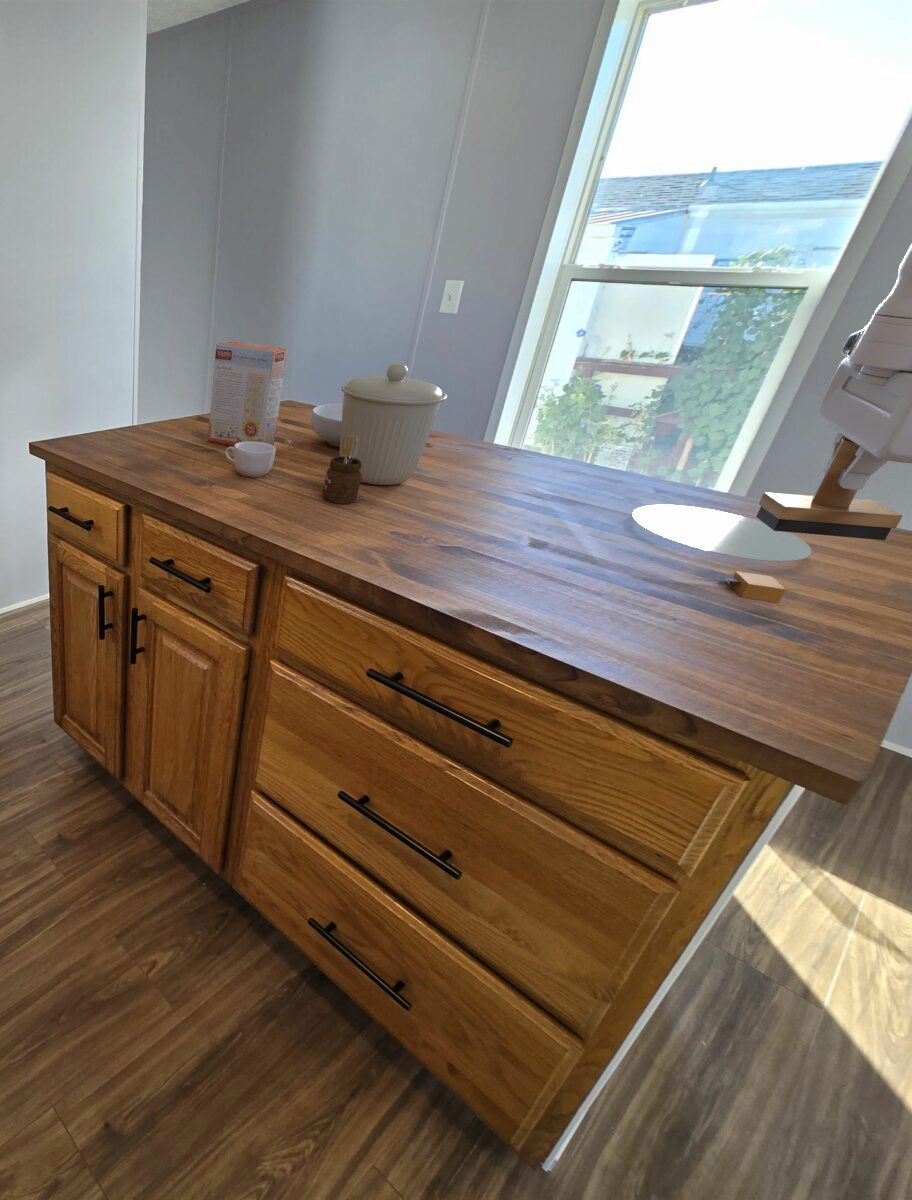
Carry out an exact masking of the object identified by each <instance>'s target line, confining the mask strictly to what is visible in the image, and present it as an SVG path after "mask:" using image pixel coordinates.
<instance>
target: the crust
mask: <svg viewBox="0 0 912 1200" xmlns="http://www.w3.org/2000/svg"><path fill="white" fill-rule="evenodd" d="M733 576H734V577H735V578H736V579H737V580H738V581H734V580H730V581H729V583H728V585H729V586H730V588H732V589H733V590H734V591H735V592H736V593H737V594H738V595H739V596H740V597H741V598H744V599H750V600H757V601H762V602H764V601H765V602H771V603H780V601H781V599H782V598H783V597H784V595H785V592H786V591H787V589H786V588H785V586H783V585H782V584H781V583H780V582H778V580H776V578H774V577H773V576H771V575H764V574H756V573H751V572H743V571H735V572H734V574H733Z"/></svg>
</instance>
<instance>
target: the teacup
mask: <svg viewBox="0 0 912 1200" xmlns="http://www.w3.org/2000/svg"><path fill="white" fill-rule="evenodd" d="M229 450H231V451H232V453H233V458H232V457H230V456H229V454H228V453H229ZM276 451H277V448H276V446H275V445H274V446H273V445H270V444H267V443H262V442H253V441H246V442H239V443H236V444H235V447H233V446H229V447H226V448H225V451H224V455H225V457H226V459H227V460H228V461H230V462H231V463H233V465H234V468H235V470H236V471H237V473H239V474H240V475H241V476H243V477H246V478H253V479H255V478H262V477H263V476H265V475H267V474H268V473H269V472H270V471H271V469H272V467H273V465H274V461H275V457H276Z"/></svg>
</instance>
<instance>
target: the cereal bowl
mask: <svg viewBox="0 0 912 1200" xmlns="http://www.w3.org/2000/svg"><path fill="white" fill-rule="evenodd" d="M342 409H343V403H327V404H320V405H318V406H315V407H314V408H312V410H311V418H310V419H311V427H312V430H313V431H314V433H315V434H316V435H317V436H318V437H320V439H322V440H324V441H327V443H328V444H329V445H332V446H334V447H337V448H340V436H341V423H342Z"/></svg>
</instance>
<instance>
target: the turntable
mask: <svg viewBox="0 0 912 1200" xmlns="http://www.w3.org/2000/svg"><path fill="white" fill-rule="evenodd" d="M631 517H632V519H633V520H634V522H636V523H637V524H638V525H639V526H641V527H642V528H644V529H646V530H647V531H649V532H651V533H653V534H656V535H657V536H660V537H662V538H665V539H667V540H670V541H672V542H675V543H678V544H682V545H685V546H688V547H691V548H693V549H694V548H695V549H698V550H702V551H705V552H710V553H714V554H719V555H723V556H729V557H735V558H741V559H747V560H756V561H766V562H792V561H793V562H794V561H800V560H804V559H807V558H809V557H810V556H811V555H812V552H813V551H812V547H810V545H809V544H808V543H807V542H806V541H804V540H803V539H802V538H800V537H798V536H796V535H794V534H793V533H792V532H782V531H774V530H772V529H771V528H770V527H769V526H767V525H766V524H765V523H763V522H762V521H761V520H757V519H752V518H749V517H746V516H742V515H737V514H734V513H729V512H724V511H720V510H717V509H716V510H715V509H710V508H703V507H698V506H688V505H678V504H677V505H676V504H651V505H644V506H639V507H637V508H635V509H633V511H632V512H631Z"/></svg>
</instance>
